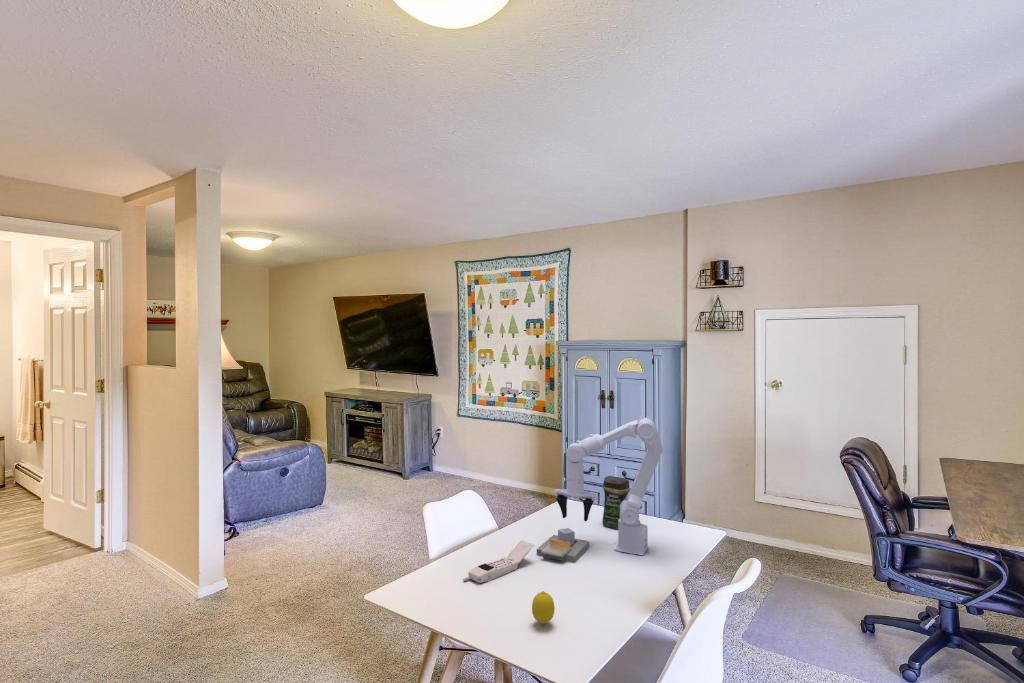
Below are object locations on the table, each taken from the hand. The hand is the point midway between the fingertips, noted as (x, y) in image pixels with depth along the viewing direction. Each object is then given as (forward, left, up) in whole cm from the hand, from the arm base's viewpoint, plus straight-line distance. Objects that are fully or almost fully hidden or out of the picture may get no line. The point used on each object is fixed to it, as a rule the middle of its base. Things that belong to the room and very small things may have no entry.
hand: (575, 518), depth 182 cm
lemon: (-10, +53, -9) cm, 54 cm away
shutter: (+2, +14, -6) cm, 15 cm away
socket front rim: (+2, +1, -9) cm, 9 cm away
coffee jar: (-7, -24, -9) cm, 27 cm away
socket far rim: (+6, +5, -9) cm, 12 cm away
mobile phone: (+13, +31, -9) cm, 34 cm away
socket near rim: (-3, +5, -9) cm, 10 cm away
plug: (+2, +5, -9) cm, 10 cm away
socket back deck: (+2, +11, -9) cm, 14 cm away
